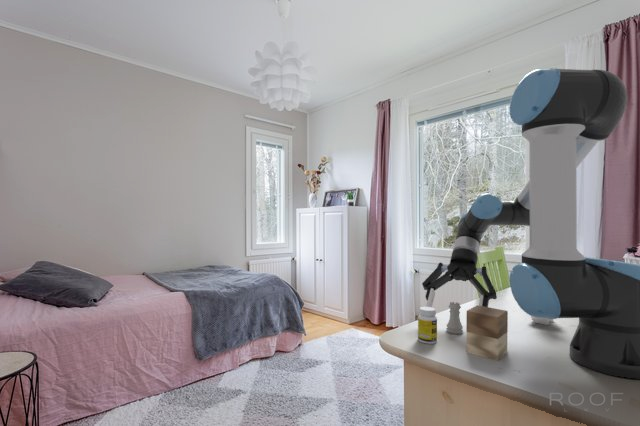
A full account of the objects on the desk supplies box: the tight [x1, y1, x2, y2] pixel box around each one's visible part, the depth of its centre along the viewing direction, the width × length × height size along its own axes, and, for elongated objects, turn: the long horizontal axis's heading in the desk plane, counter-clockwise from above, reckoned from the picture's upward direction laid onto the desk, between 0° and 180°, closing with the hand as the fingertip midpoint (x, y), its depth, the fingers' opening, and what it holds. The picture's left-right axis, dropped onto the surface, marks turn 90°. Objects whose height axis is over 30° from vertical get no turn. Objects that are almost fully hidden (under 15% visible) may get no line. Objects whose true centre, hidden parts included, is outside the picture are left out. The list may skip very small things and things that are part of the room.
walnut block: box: [465, 304, 509, 339], centre depth 82 cm, size 7×7×5 cm
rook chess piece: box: [446, 301, 464, 335], centre depth 96 cm, size 4×4×8 cm
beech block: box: [465, 332, 508, 361], centre depth 82 cm, size 7×7×5 cm
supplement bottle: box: [417, 306, 438, 345], centre depth 89 cm, size 5×5×8 cm
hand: (452, 314), depth 95 cm, fingers open, 13 cm apart
